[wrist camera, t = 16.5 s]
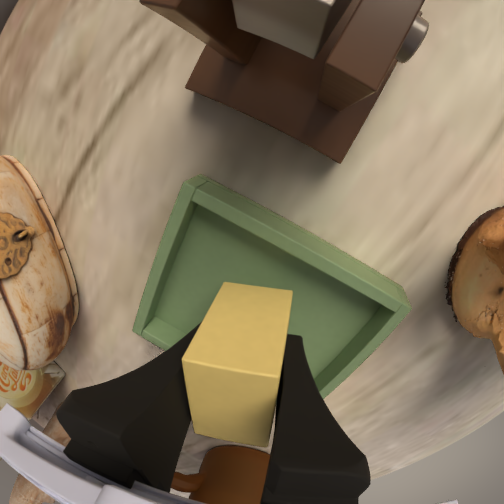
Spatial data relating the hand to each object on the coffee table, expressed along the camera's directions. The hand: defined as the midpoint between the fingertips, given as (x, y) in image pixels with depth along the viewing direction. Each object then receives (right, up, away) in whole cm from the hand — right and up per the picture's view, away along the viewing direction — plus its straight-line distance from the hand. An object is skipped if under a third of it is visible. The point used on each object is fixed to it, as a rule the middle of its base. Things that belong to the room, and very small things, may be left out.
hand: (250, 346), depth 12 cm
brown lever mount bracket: (+2, +13, -2) cm, 13 cm away
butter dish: (+1, +1, +3) cm, 3 cm away
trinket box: (-17, +5, +5) cm, 18 cm away
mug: (-2, -14, +11) cm, 18 cm away
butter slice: (0, +1, +1) cm, 1 cm away
